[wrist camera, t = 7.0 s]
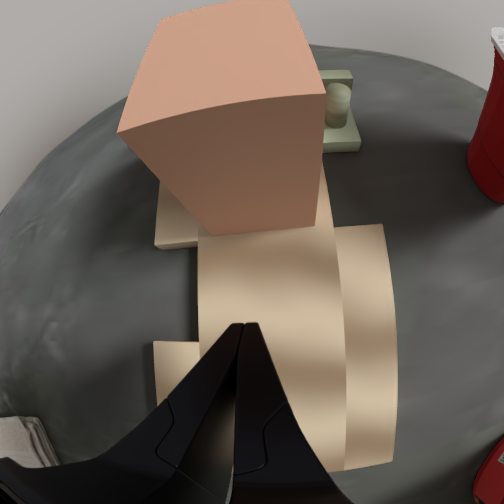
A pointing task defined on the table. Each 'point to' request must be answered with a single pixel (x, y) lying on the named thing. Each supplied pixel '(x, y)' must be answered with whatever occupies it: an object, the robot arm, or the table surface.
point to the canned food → (491, 478)
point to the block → (232, 116)
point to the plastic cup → (491, 131)
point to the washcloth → (26, 442)
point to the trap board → (302, 310)
